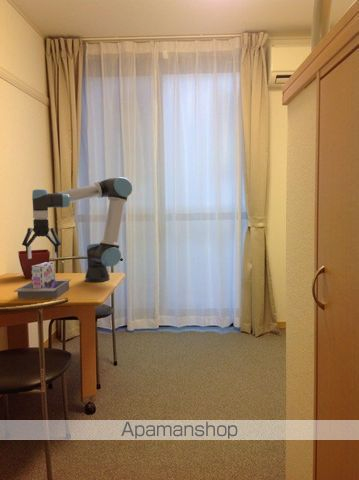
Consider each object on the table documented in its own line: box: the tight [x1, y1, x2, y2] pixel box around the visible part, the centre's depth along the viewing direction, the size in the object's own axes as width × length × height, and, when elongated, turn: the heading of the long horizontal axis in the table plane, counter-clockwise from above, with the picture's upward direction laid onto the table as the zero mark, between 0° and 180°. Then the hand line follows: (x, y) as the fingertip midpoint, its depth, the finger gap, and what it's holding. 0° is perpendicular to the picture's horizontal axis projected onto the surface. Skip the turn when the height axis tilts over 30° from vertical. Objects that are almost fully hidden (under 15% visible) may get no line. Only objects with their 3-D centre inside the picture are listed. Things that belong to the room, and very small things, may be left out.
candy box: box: [31, 261, 56, 288], centre depth 201 cm, size 14×6×16 cm, turn 168°
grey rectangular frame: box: [13, 278, 72, 299], centre depth 202 cm, size 20×27×5 cm
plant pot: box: [17, 249, 51, 279], centre depth 250 cm, size 19×19×17 cm
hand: (42, 258), depth 200 cm, fingers open, 13 cm apart
